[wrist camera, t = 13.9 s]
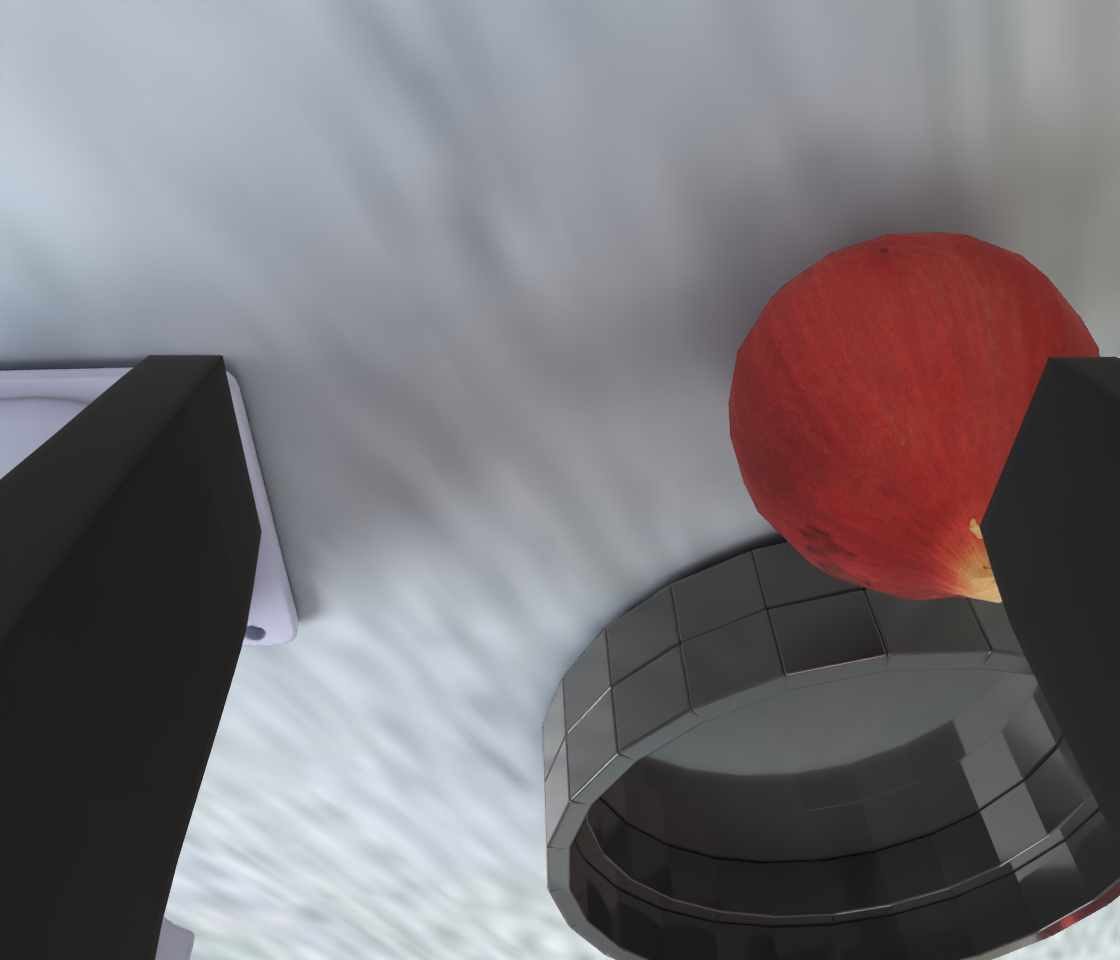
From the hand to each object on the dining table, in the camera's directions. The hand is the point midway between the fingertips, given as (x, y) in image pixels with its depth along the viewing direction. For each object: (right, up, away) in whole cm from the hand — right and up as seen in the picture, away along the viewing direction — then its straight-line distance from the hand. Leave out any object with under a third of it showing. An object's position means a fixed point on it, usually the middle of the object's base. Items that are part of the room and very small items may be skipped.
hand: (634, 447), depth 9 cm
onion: (+5, +3, +11) cm, 12 cm away
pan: (+7, -7, +20) cm, 22 cm away
